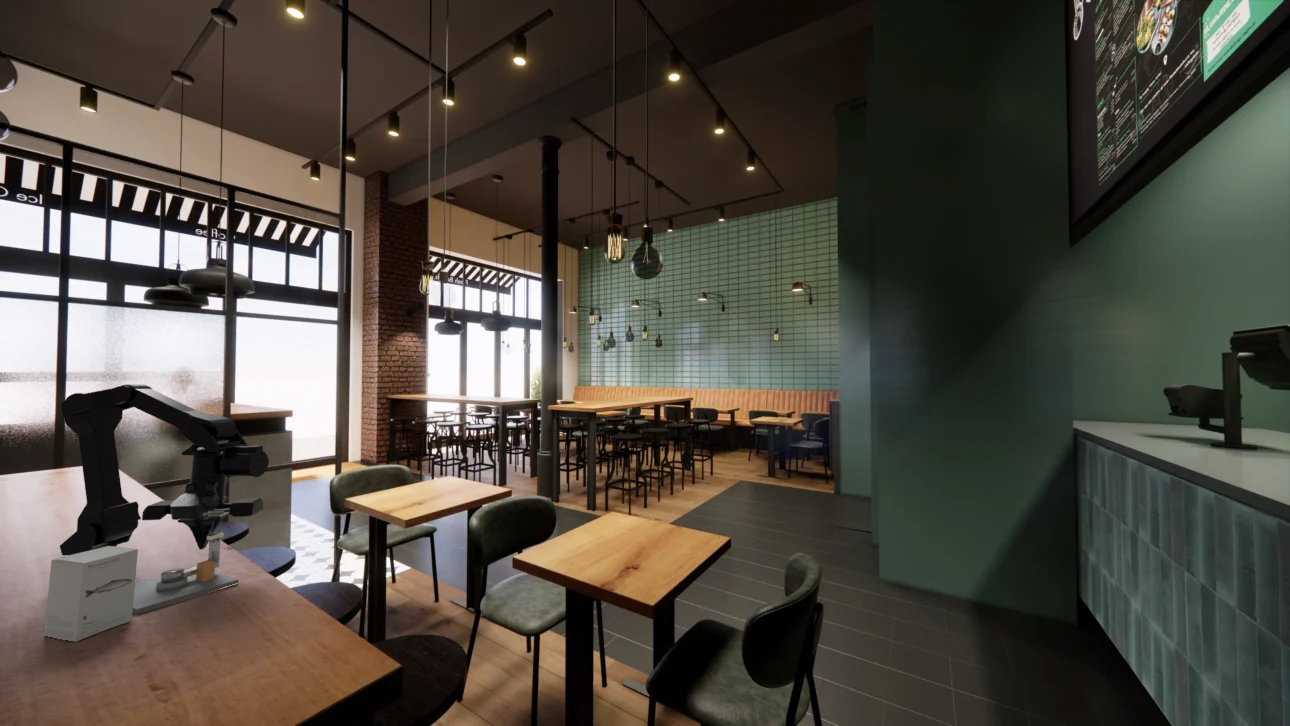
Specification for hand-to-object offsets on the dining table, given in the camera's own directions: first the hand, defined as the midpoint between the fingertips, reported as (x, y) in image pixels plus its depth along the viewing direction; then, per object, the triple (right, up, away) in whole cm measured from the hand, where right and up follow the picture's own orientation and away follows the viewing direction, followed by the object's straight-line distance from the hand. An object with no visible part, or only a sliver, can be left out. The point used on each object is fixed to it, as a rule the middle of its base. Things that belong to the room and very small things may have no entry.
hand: (202, 548), depth 100 cm
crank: (+2, -4, -4) cm, 6 cm away
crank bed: (0, -6, -6) cm, 9 cm away
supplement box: (+1, -5, -21) cm, 22 cm away
